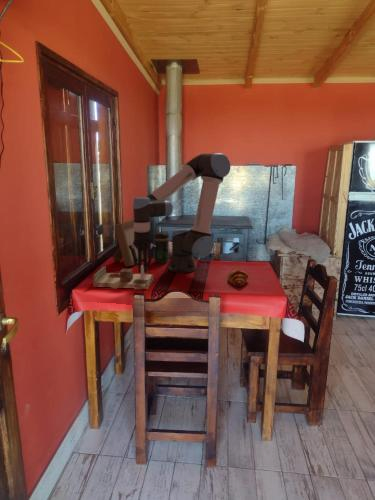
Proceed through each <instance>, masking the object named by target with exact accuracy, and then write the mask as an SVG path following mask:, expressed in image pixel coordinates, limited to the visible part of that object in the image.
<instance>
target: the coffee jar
mask: <svg viewBox="0 0 375 500" xmlns="http://www.w3.org/2000/svg"><path fill="white" fill-rule="evenodd" d="M169 242H170V234H169V232H168V231H165V230H163V231H159V232H157V233H155V234H154V245H156V248H155V249H154V262H155V263H157V264H166V263H168V262H169V260H170V257H169V256H170V251H169V249H170V248H169V246H170V245H169V244H170V243H169Z"/></svg>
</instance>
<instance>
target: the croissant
mask: <svg viewBox="0 0 375 500" xmlns="http://www.w3.org/2000/svg"><path fill="white" fill-rule="evenodd" d="M248 278H249V275H248V274H247V272H245V271H243V270H241V269H232V270H230V272H228V275H227V280H228V281H229V283H230V284H233V285H234V286H236V287H241V286H244V285H245V284H246V283H247V280H248Z"/></svg>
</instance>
